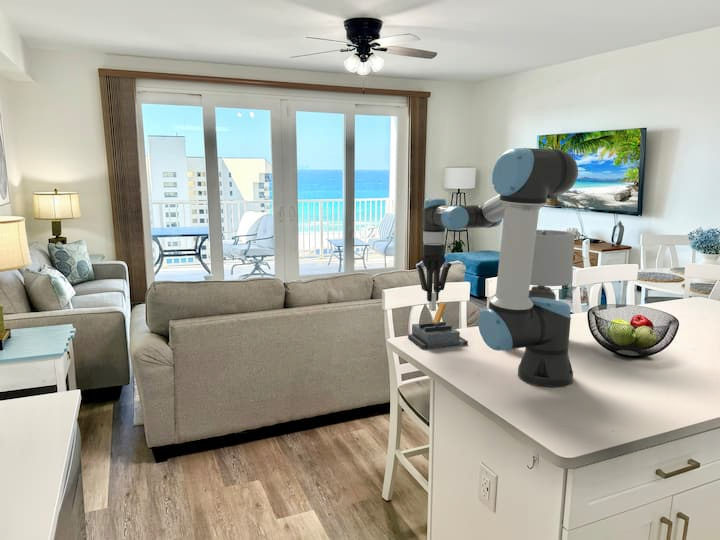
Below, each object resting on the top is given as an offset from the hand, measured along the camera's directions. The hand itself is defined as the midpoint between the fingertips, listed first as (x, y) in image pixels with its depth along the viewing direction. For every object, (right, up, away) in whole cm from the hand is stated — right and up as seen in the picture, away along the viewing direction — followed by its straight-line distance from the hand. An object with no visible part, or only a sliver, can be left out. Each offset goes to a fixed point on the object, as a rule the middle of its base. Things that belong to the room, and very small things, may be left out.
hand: (432, 310), depth 184 cm
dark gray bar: (-6, -12, 0) cm, 13 cm away
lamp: (+41, -10, +10) cm, 43 cm away
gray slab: (+9, -11, +4) cm, 15 cm away
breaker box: (+1, -11, +2) cm, 12 cm away
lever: (+1, -5, +1) cm, 5 cm away
